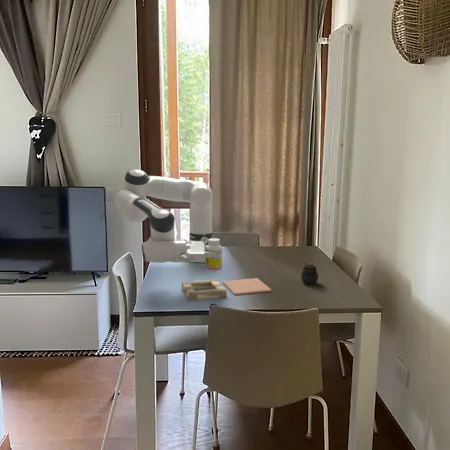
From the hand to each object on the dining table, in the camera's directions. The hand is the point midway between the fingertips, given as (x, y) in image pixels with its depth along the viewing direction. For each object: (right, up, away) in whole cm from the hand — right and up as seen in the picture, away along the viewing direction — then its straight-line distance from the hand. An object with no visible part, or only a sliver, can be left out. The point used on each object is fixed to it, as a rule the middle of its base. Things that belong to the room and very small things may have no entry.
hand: (216, 251), depth 191 cm
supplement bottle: (-1, -8, +2) cm, 8 cm away
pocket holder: (-5, -17, +2) cm, 18 cm away
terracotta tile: (+13, -16, +8) cm, 22 cm away
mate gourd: (+40, -15, +14) cm, 45 cm away
